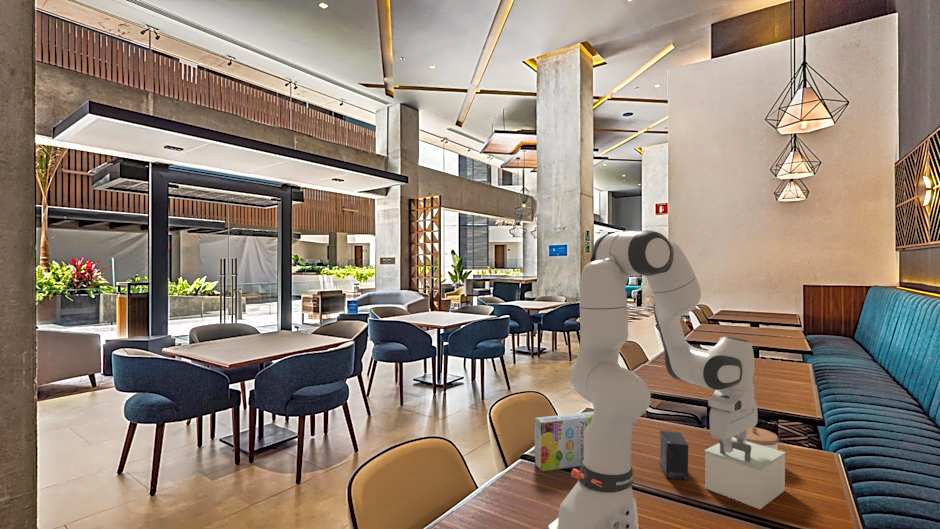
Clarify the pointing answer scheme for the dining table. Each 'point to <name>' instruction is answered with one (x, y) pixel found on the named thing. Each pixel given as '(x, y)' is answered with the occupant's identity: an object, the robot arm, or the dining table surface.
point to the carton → (745, 480)
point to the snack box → (560, 440)
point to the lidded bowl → (761, 437)
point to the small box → (673, 455)
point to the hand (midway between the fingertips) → (734, 448)
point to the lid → (747, 454)
